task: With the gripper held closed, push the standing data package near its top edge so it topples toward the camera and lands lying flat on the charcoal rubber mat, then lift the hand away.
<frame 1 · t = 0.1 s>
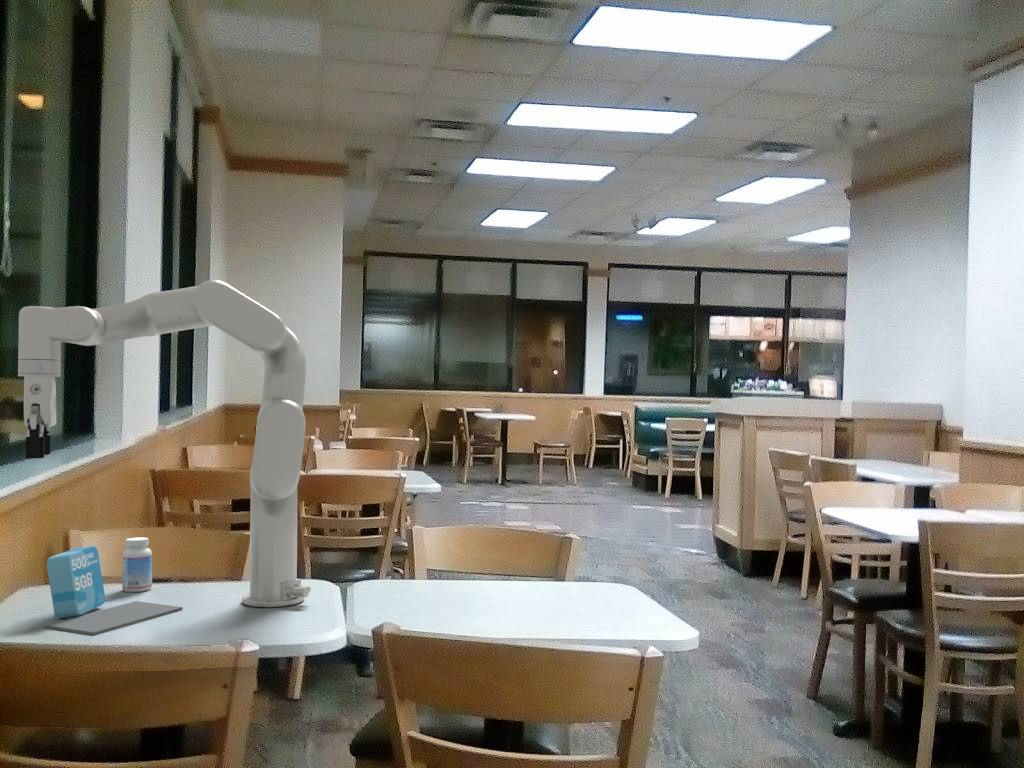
hand: (38, 456, 190), 31 cm above the table, tool pointing down, fingers open, 9 cm apart
pill bottle: (137, 590, 213), on the table
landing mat: (116, 618, 187), on the table
data package: (81, 612, 191), on the table, touching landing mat
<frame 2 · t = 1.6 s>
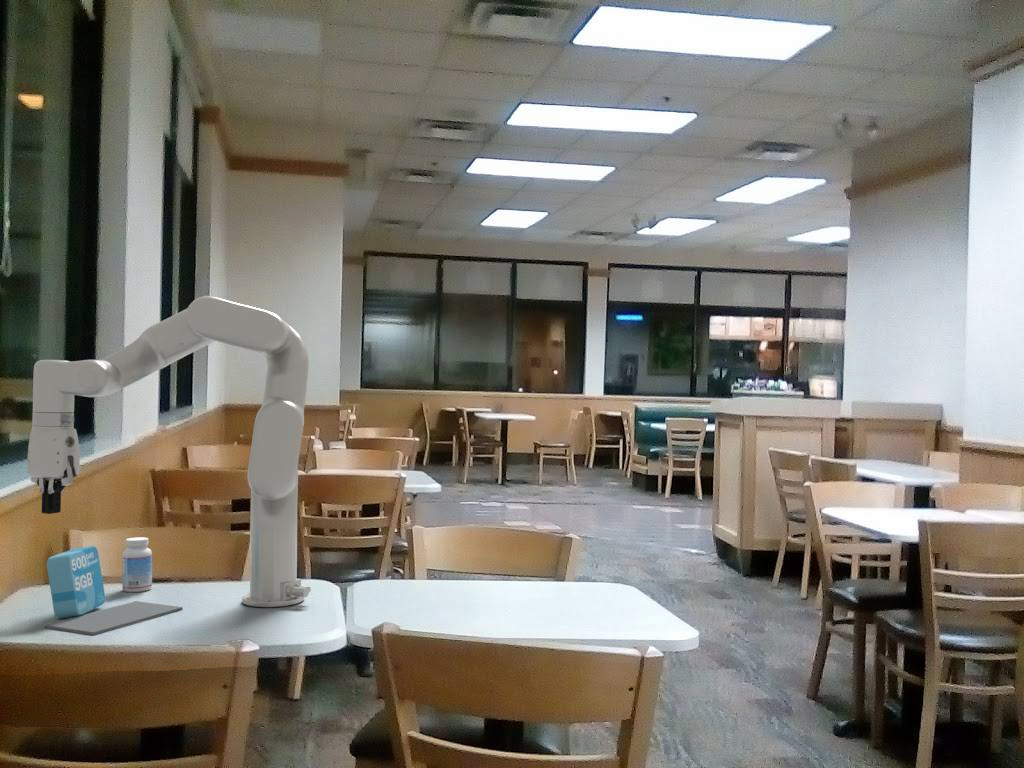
hand: (51, 512, 194), 19 cm above the table, tool pointing down, fingers closed
nothing on the table moved.
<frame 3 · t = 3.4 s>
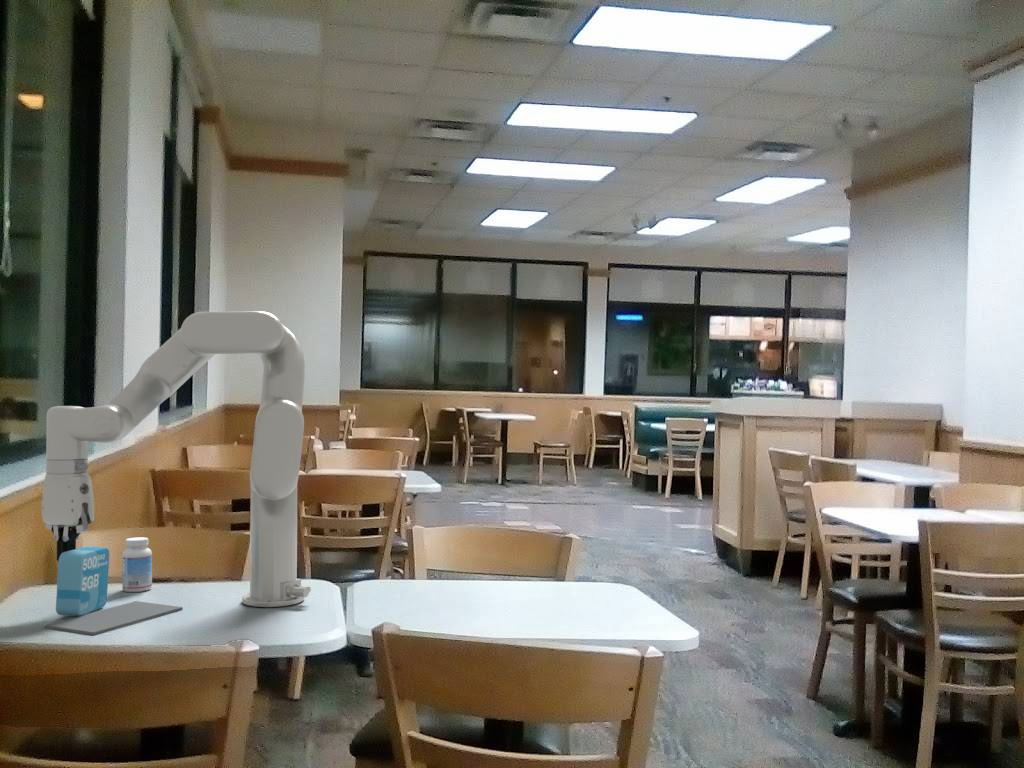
hand: (66, 560, 192), 10 cm above the table, tool pointing down, fingers closed
data package: (81, 612, 191), on the table, touching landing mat
everything else where it was.
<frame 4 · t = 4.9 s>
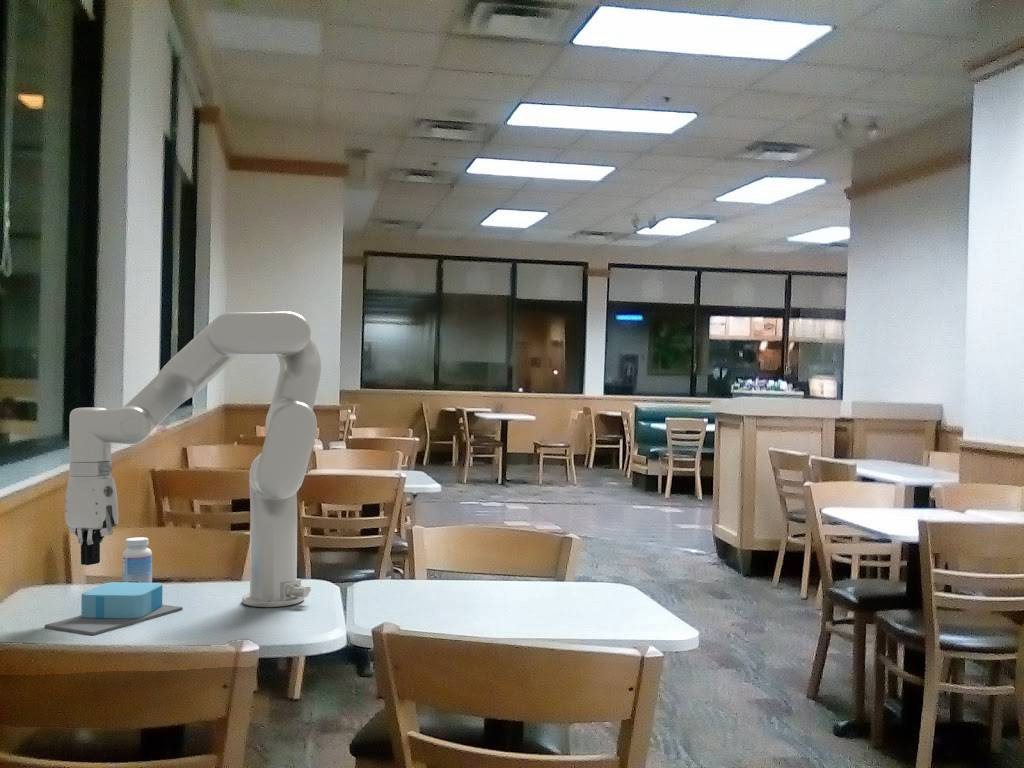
hand: (90, 563, 190), 10 cm above the table, tool pointing down, fingers closed
data package: (91, 599, 191), point 3 cm above the table, touching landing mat
everything else where it was.
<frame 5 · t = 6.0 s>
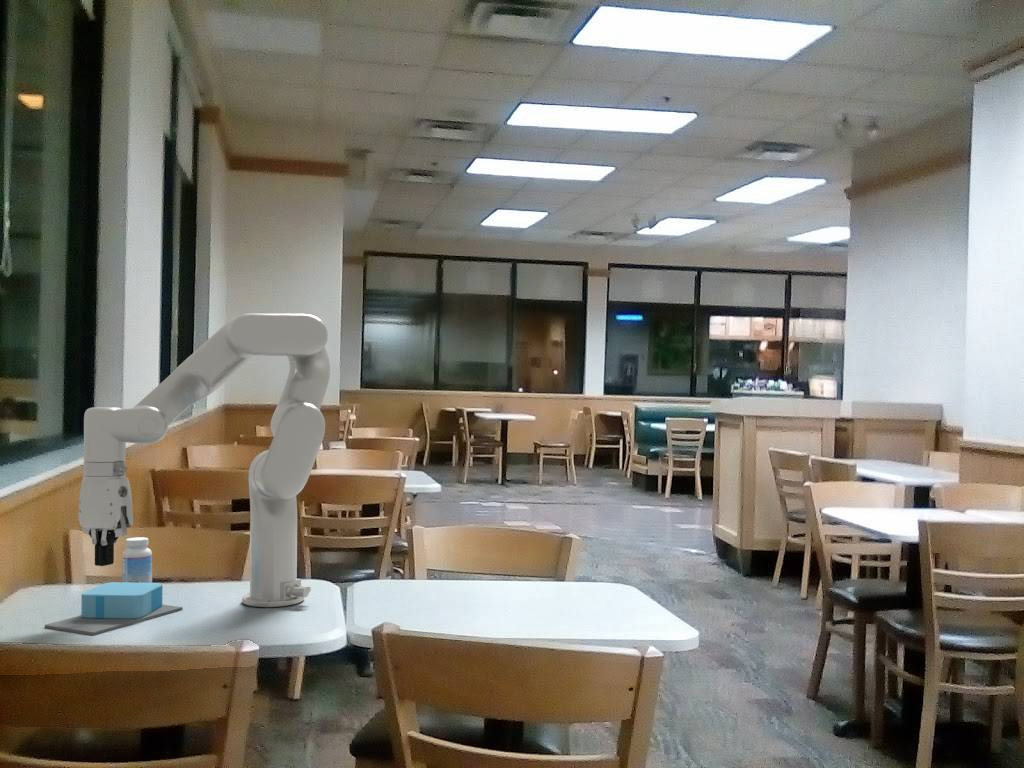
hand: (104, 564, 188), 10 cm above the table, tool pointing down, fingers closed
nothing on the table moved.
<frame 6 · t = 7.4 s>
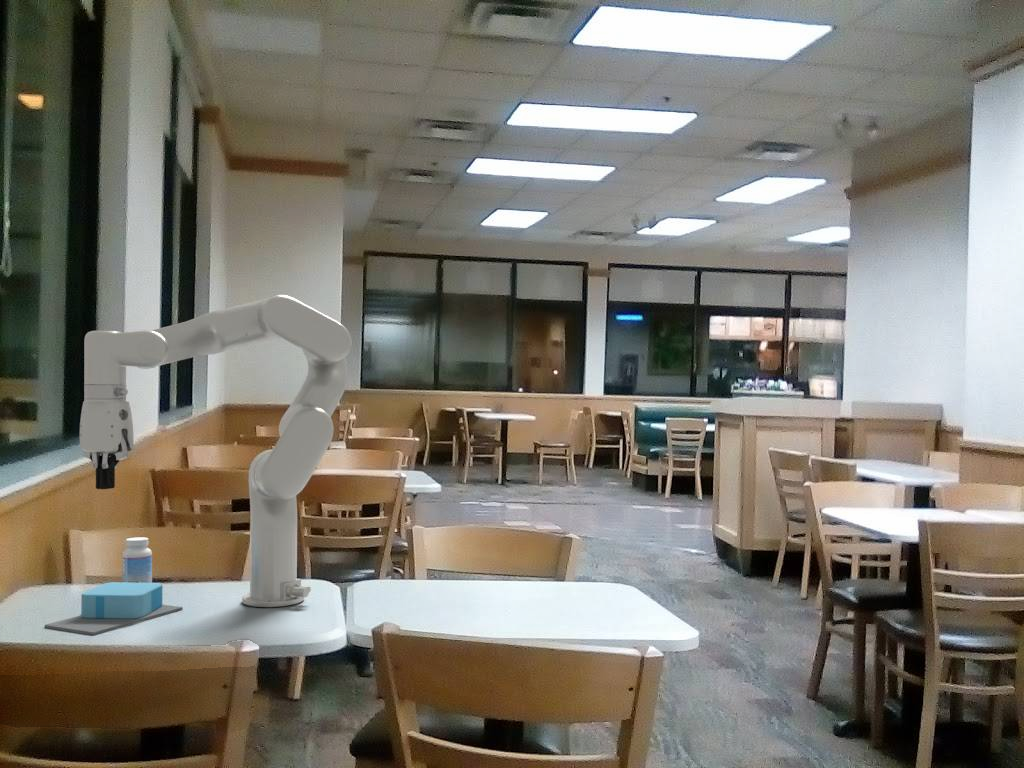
hand: (105, 488, 188), 25 cm above the table, tool pointing down, fingers closed
nothing on the table moved.
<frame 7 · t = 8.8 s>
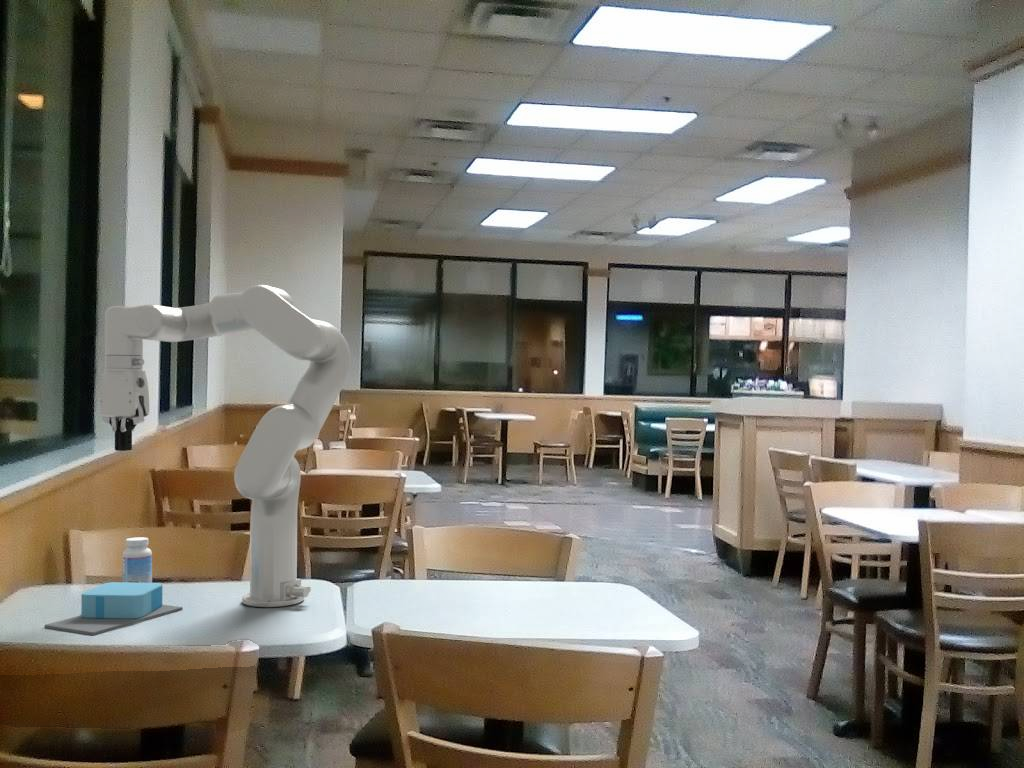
hand: (123, 450, 206), 31 cm above the table, tool pointing down, fingers closed
nothing on the table moved.
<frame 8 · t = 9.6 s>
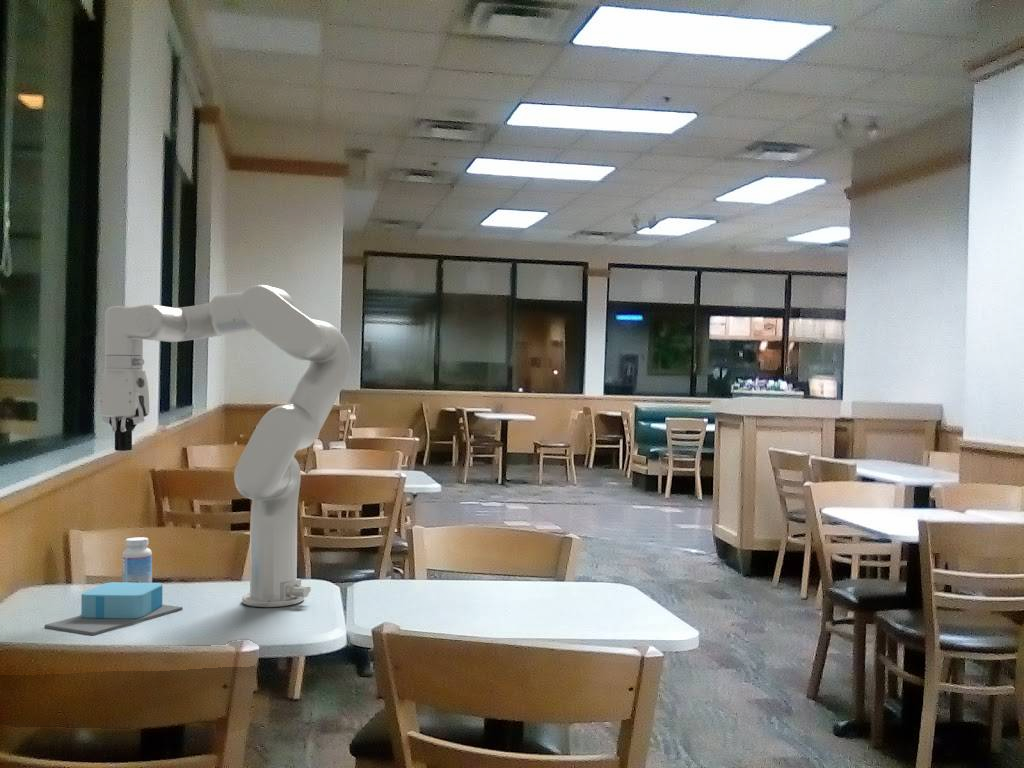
hand: (123, 450, 206), 31 cm above the table, tool pointing down, fingers closed
nothing on the table moved.
at the end: data package tilted 90°; data package touching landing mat; data package inside the target area (6.6 cm from its centre), point 2.8 cm above the table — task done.
